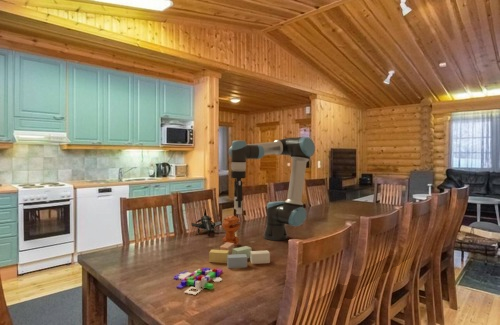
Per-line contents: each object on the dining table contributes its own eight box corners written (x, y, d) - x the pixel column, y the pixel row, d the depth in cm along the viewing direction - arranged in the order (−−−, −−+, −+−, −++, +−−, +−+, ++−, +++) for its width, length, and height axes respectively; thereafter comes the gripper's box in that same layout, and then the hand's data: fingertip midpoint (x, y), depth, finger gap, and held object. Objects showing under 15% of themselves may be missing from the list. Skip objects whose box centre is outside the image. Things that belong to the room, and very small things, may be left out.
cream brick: (267, 260, 159) (267, 250, 158) (269, 263, 154) (269, 253, 154) (250, 261, 157) (250, 251, 157) (251, 264, 152) (251, 254, 152)
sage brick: (246, 255, 166) (246, 245, 165) (251, 257, 162) (251, 248, 162) (232, 258, 160) (232, 248, 160) (237, 261, 157) (237, 251, 156)
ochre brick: (228, 260, 158) (228, 250, 158) (226, 263, 153) (227, 253, 153) (211, 259, 159) (211, 249, 159) (209, 262, 154) (209, 252, 154)
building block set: (192, 267, 148) (193, 258, 148) (231, 275, 140) (231, 265, 140) (157, 288, 125) (157, 277, 125) (201, 298, 117) (202, 287, 117)
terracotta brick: (226, 251, 172) (226, 242, 172) (234, 252, 170) (234, 243, 170) (219, 256, 163) (219, 246, 163) (227, 257, 162) (227, 247, 162)
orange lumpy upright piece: (238, 248, 176) (238, 217, 175) (219, 247, 178) (219, 215, 177) (242, 243, 187) (242, 213, 186) (224, 241, 189) (225, 212, 188)
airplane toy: (218, 228, 220) (218, 207, 220) (225, 235, 202) (225, 212, 202) (189, 230, 214) (190, 208, 214) (194, 238, 196) (194, 214, 195)
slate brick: (245, 264, 152) (245, 254, 152) (247, 267, 148) (247, 257, 148) (227, 265, 151) (227, 254, 151) (228, 268, 147) (228, 257, 146)
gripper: (229, 169, 173) (229, 207, 174) (233, 172, 149) (232, 216, 149) (243, 169, 174) (242, 207, 175) (248, 172, 150) (248, 216, 150)
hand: (237, 211), depth 162 cm, fingers open, 13 cm apart
